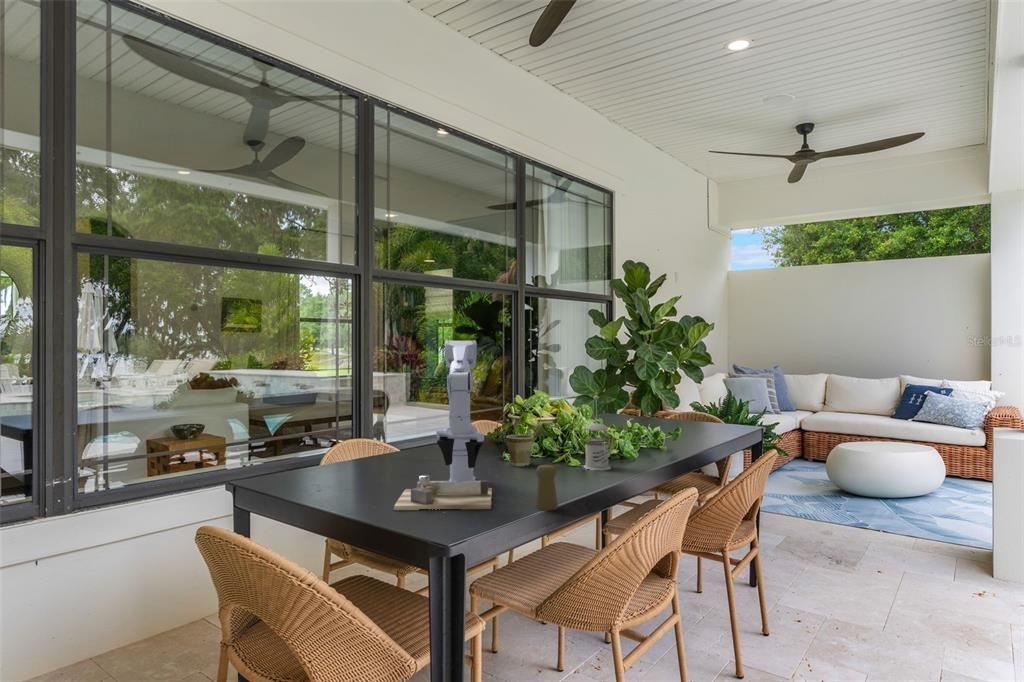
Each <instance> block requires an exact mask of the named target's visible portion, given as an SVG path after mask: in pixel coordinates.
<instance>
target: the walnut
mask: <svg viewBox="0 0 1024 682" xmlns="http://www.w3.org/2000/svg"><path fill="white" fill-rule="evenodd" d="M425 489H427V490H432V491H433V499H434V498H435V497H436V495H437V491H436V489H435V488H434V487H433V486H428V487H426V488H425Z"/></svg>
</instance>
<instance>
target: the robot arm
mask: <svg viewBox="0 0 1024 682" xmlns="http://www.w3.org/2000/svg"><path fill="white" fill-rule="evenodd" d="M477 352H478V351H477V341H476V340H475V339H474V340H448V339H447V340H446V341H445V342H444V357H445V358H444V359H445V364H446V368H449V374H447V376H446V389H447V396H448V400H449V401H448V414H449V415H448V422H449V423H448V424H449V425H448V426H447V427H446V429H439V430H436V438H437V439H438V440H436V444H437V445H438V448H439V449H440V451H441V454H442V456H443V459H444V463H445V466H449V472H450V475H449V476H450V477H449V479H448V481H476V476H474V468H475V466H476V462H477V458H478V455H479V452H480V450H481V448H482V446H483V444H484V441H485V433H480V432H478V429H477V427H476V426H475V425H474V424H473V423H472V422H471V393H472V372H471V370H472V369H474V368H476V365H477Z"/></svg>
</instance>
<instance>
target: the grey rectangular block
mask: <svg viewBox="0 0 1024 682" xmlns="http://www.w3.org/2000/svg"><path fill="white" fill-rule="evenodd" d="M410 489H411V501H412V502H417V503H421V504H425V505H427V504H431V503H433V491H432V490H427V489H423V488H418V487H417V486H416V487H413V488H410Z"/></svg>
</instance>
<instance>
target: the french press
mask: <svg viewBox="0 0 1024 682" xmlns="http://www.w3.org/2000/svg"><path fill="white" fill-rule="evenodd" d="M593 399H594V400H595V411H596V412H595V423H590V424H589V425H587V426H585V427H584V429H585V430H586V431H592V432H595V433H596V435H595V437H590V438H586V439H585V440H586V443H585V447H584V448H585V449H584V451H585V464H584V465H583V466H582V468H583V467H584V468H585V469H584V468H583V469H584V470H587V469H590V470H589V471H595V470H601V471H609V470H611V469H612V467H611V466H610V465H609V452H610V451H611V449H612V448H613V444H614V440H613V439H614V438H613V435H612V433H611V432H609V431H608V430H609V427H608V426H607V425H605V424H604V423H603V424H602V423H599V422H598V419H597V418H598V413H597V412H598V411H597V409H598V408H597V406H598V401H597V399H598V400H599V399H600V396H599V395H594V396H593ZM599 431H600V432H602V434H603V436H607V437H608V439H607V438H604V437H603V438H601V437H600V438H599V437H598V432H599ZM604 432H605V433H604ZM610 437H611V439H612V440H611V439H610ZM610 440H611V441H610ZM607 441H608V443H607ZM605 442H606V443H605ZM610 443H611V447H610ZM609 447H610V449H609Z"/></svg>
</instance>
